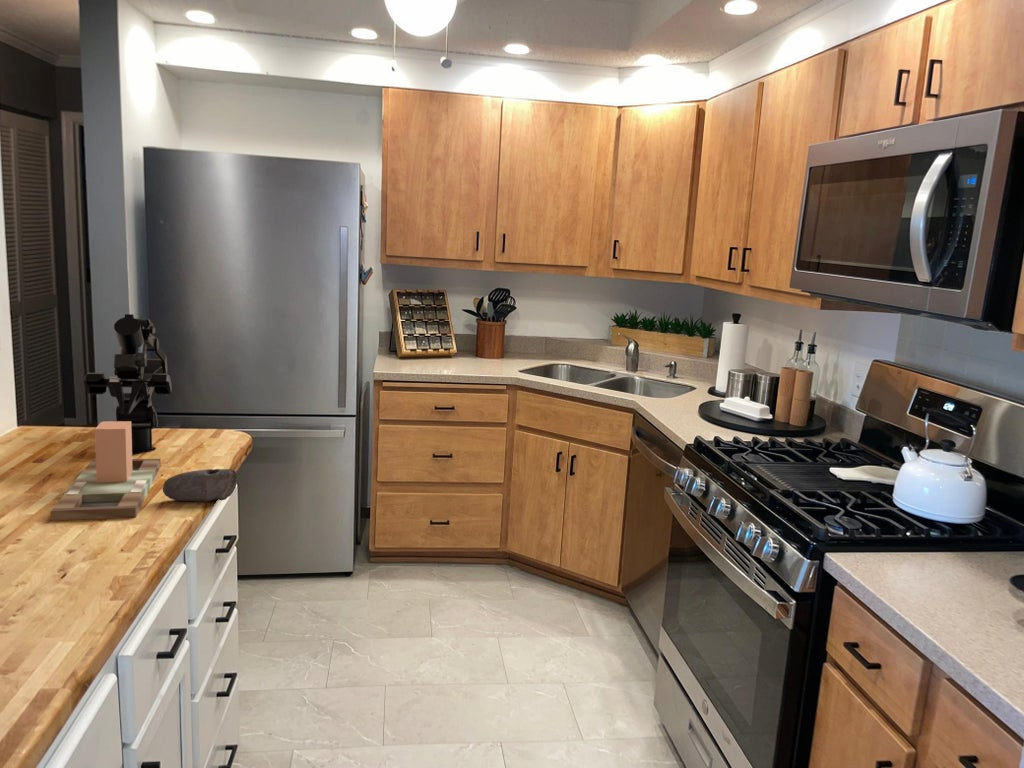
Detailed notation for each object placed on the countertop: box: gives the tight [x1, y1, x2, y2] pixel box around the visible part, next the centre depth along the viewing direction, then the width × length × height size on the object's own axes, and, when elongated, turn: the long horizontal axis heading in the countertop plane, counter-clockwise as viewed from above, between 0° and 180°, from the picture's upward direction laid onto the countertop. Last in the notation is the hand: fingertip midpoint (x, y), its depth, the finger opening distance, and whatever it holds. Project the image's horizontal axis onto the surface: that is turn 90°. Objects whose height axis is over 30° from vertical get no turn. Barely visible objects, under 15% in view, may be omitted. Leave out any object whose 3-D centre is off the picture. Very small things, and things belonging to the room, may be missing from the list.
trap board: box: [50, 458, 162, 522], centre depth 166 cm, size 35×15×2 cm, turn 17°
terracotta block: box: [94, 420, 133, 482], centre depth 168 cm, size 7×6×12 cm
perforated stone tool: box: [162, 468, 238, 503], centre depth 164 cm, size 15×5×7 cm, turn 104°
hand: (124, 413), depth 180 cm, fingers closed
